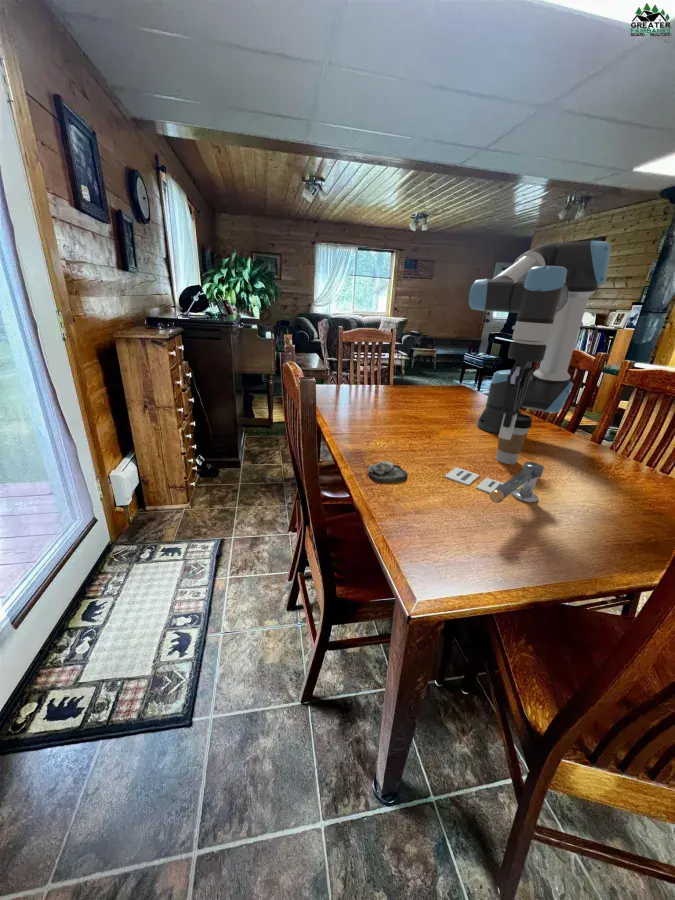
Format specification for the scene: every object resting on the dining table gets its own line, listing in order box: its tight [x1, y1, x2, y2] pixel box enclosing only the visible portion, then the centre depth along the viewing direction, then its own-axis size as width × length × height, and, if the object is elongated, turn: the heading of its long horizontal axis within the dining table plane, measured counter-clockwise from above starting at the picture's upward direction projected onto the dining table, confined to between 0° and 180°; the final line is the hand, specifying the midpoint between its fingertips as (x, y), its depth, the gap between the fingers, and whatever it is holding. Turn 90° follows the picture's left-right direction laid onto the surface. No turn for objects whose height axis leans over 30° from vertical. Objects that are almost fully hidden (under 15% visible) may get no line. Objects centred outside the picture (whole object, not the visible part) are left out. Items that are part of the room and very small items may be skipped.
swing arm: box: [489, 461, 545, 504], centre depth 82 cm, size 25×4×3 cm, turn 133°
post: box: [511, 476, 539, 504], centre depth 90 cm, size 6×6×7 cm
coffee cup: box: [495, 413, 533, 465], centre depth 110 cm, size 8×8×15 cm
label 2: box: [475, 476, 505, 494], centre depth 95 cm, size 8×7×1 cm
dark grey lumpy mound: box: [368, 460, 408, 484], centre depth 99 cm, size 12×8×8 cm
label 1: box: [444, 467, 480, 486], centre depth 100 cm, size 8×7×1 cm
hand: (504, 437), depth 90 cm, fingers closed
